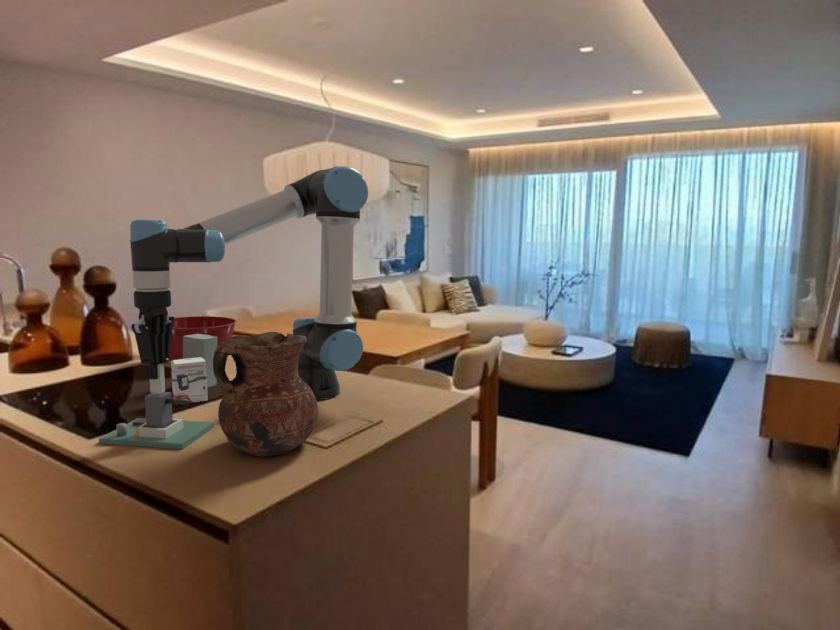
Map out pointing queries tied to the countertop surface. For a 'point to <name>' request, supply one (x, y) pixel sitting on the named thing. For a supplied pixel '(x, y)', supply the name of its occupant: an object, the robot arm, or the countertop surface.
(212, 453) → the countertop surface
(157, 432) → the board
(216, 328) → the mixing bowl
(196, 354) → the skincare box
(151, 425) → the grey handled block
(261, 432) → the jug
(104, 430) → the countertop surface
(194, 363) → the ink box
